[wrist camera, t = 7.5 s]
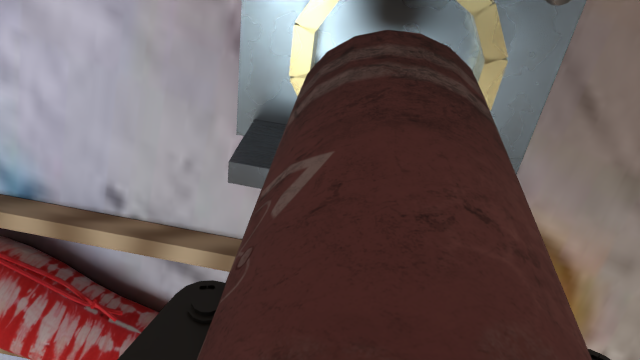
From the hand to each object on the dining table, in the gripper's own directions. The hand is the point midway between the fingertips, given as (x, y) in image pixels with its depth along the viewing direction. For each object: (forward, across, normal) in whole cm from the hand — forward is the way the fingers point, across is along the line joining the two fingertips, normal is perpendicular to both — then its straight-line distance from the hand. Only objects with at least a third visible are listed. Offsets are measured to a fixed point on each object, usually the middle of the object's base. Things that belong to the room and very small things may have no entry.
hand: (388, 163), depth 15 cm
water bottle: (+16, +22, +28) cm, 38 cm away
